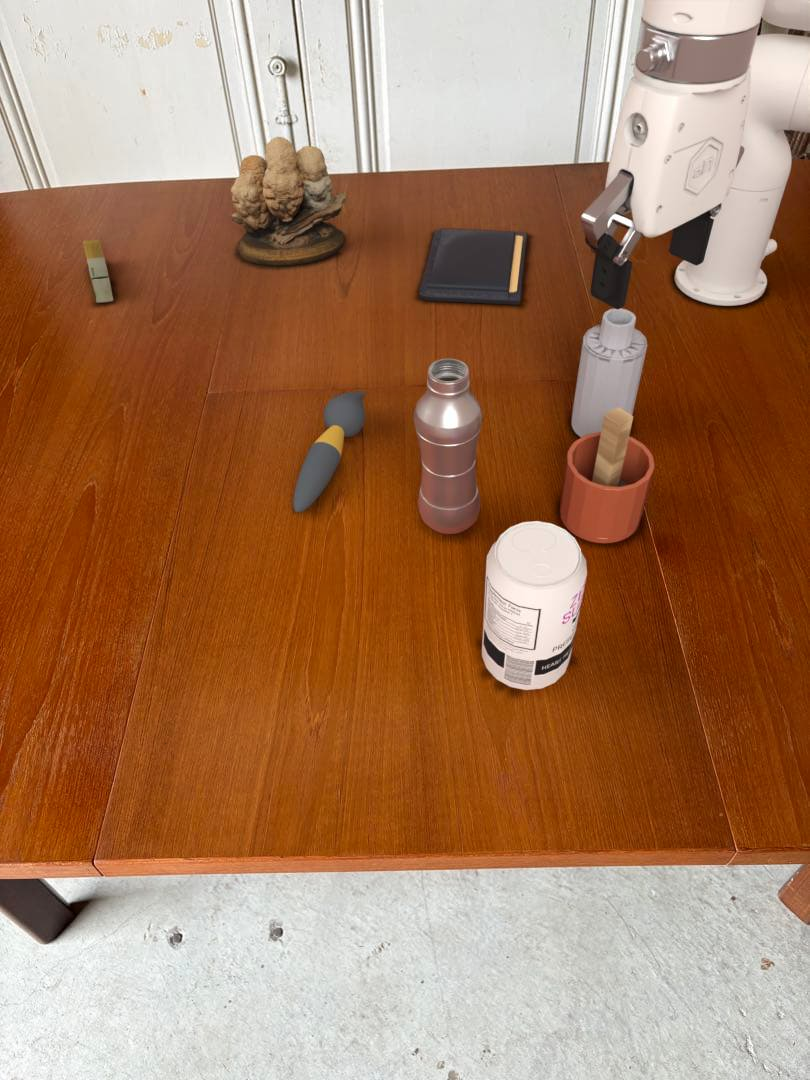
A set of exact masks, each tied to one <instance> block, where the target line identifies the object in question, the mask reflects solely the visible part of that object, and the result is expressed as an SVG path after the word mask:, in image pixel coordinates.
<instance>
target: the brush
mask: <svg viewBox="0 0 810 1080" xmlns="http://www.w3.org/2000/svg"><path fill="white" fill-rule="evenodd" d="M633 420H634V415H633V414H632V415H631V414H629V413H627V412H626V411H624V410H623V409H621V408H619V407H617V408H615V409H613V410H612V411H610V412H609V413H607V414H605V415H604V419H603V425H602V430H601V435H600V441H599V446H598V452H597V457H596V463H595V468H594V473H593V479H592V482H594V483H597V484H600V485H603V486H614V487H622V486H626V485H629V484H627V483H626V482H624V481H623V480H621V479H620V476H621V471H622V467H623V462H624V457H625V453H626V448H627V444H628V439H629V436H630V434H631V430H632V425H633Z"/></svg>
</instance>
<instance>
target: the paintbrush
mask: <svg viewBox="0 0 810 1080" xmlns="http://www.w3.org/2000/svg"><path fill="white" fill-rule="evenodd" d="M366 392H367V391H350V392H349V391H348V392H344V393H340V394H338V395H335V396H334V397H333V398H331V399H330V400H329V401H328V402H327V403H326V405H325V407H324V410H323V422H324V426H325V427H326V430H325V431H323V433H322V434H321V435H320V436H319V437H318V438H317V439H316V440H315V441H314V442H313V443H312V445H311V447H309V450H308V452H307V454H306V456H305V458H304V461H303V463H302V465H301V468H300V471H299V474H298V476H297V481H296V484H295V487H294V492H293V498H292V500H293V501H292V505H293V510H294V511H295V513H298V514H299V513H302V512H304V511H306V510H307V509H309V508H310V507H311V506H312V505H313V504H314V503H315V502H316V501H317V499H319V497H320V495H322V493H323V492H324V490H325V489H326V488H327V486H328V484H329V483H330V482H331V479H332V478H333V476H334V475H335V472H336V471H337V469H338V467H339V464H340V462H341V458H342V454H343V450H344V449H343V448H344V441H345V438H352V437H354V436H356V435H357V434H359V432H361V430H363V428H364V426H365V423H366V410H365V406H364V403H363V399H364V397H365V395H366Z"/></svg>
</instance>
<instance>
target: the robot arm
mask: <svg viewBox="0 0 810 1080" xmlns="http://www.w3.org/2000/svg"><path fill="white" fill-rule="evenodd" d="M642 5H643V6H642V11H641V17H640V24H639V31H638V37H637V43H636V49H635V56H634V61H633V68H632V73H633V76H632V77H631V78H630V80H629V83H628V86H627V90H626V92H625V96H624V100H623V104H622V107H621V110H620V114H619V118H618V122H617V126H616V131H615V135H614V139H613V142H612V147H611V152H610V157H609V162H608V167H607V168H608V169H607V174H606V180H605V187H604V190H603V191H601V193H600V194H599V195H598V196H597V197H596V199H594V201H593V202H592V203H591V204H590V205H589V206H588V207H587V208H586V209H585V210H584V211H583V213H582V214H581V217H580V223H581V227H582V230H583V233H584V236H585V238H584V242H585V243H586V245H587V246H588V247H589V248H590V252H591V253H593V254H594V262H593V268H592V269H593V270H592V277H591V283H590V290H589V292H590V295H591V296H592V297H593V298H594V299H597V300H598V301H600V302H602V303H604V304H606V305H608V306H610V307H612V309H623V308H624V307H625V305H626V302H627V296H628V290H629V286H630V285H629V284H630V280H631V274H632V269H633V261H630V260H629V258H630V256H631V254H632V253H633V251H634V249H635V247H636V246H637V244H638V243H639V241H640V239H641V238H642V236H644V237H646V238H648V239H653V238H656V237H660V236H662V235H664V234H667V233H668V232H670V231H672V230H673V231H672V233H671V234H672V235H671V238H670V243H669V248H668V252H669V254H671V255H673V256H674V257H676V258H678V259H681V260H682V261H681V262H680V263H679V264H678V265H677V267H676V269H675V272H674V283H675V285H676V286H677V288H678V289H679V290H680V291H681V292H682V293H683V294H685V295H686V296H688V297H689V298H691V299H693V300H696V301H698V302H701V303H704V304H708V305H713V306H722V307H733V306H742V305H746V304H749V303H753V302H754V301H756V300H758V299H759V298H760V297H762V296H763V294H764V293H765V291H766V288H767V285H768V278H767V275H766V274H765V272H764V271H763V270H762V269H761V266H762V262H763V261H764V259H765V258H766V257H768V256H769V255H770V254H772V253H774V252H775V251H777V249H778V243H777V242H776V240H775V239H773V238H770V237H771V234H772V231H773V228H774V225H775V221H776V218H777V215H778V211H779V209H780V205H781V203H782V199H783V196H784V193H785V190H786V186H787V183H788V180H789V177H790V174H791V170H792V162H793V161H792V159H793V158H792V157H793V156H792V150H791V146H790V144H789V140H788V138H787V135H786V133H785V131H795V132H800V133H801V132H802V133H808V134H810V36H806V35H796V34H786V33H764V34H759V35H758V33H759V29H760V25H761V20H762V19H763V20H764V21H765V22H766V23H768V24H770V25H772V26H776V27H780V28H785V29H790V30H797V31H805V32H810V0H643V4H642ZM629 213H631V217H632V218H631V217H628V216H626V215H628V214H629ZM619 226H620V227H622V228H624V229H626V230H627V231H626V234H624V237H623V238H622V240H621V241H620V244H619V242H618V241H617V240H616V239H615V238H614V237H613V236H614V235H615V234H616V231H617V229H618V228H619Z"/></svg>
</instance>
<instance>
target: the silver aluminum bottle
mask: <svg viewBox="0 0 810 1080" xmlns="http://www.w3.org/2000/svg"><path fill="white" fill-rule="evenodd" d="M469 377H470V371H469V367H468V365H467V364H466V363H465V362H464V361H462V360H460V359H456V358H441V359H437V360H435V361H434V362H432V363H431V364H430V365H429V367H428V370H427V380H426V389H427V390H425V392H424V394H423V395H422V396H421V397H420V398H419V400H417V402H416V405H415V407H414V410H413V411H414V412H413V422H414V423H413V424H414V428H415V432H416V435H417V436H416V437H417V440H418V445H419V451H420V457H421V480H420V486H419V491H418V499H417V509H418V511H419V512H418V513H419V515H420V517H421V520H422V522H423V523H424V524H425V525H426V526H427V527H428V528H430V529H431V530H433V531H435V532H437V533H440V534H444V535H454V534H460V533H462V532H465V531H466V530H468V529H470V527H472V526H473V525H474V524H475V523H476V521H477V520H478V517H479V514H480V510H481V506H482V505H481V504H482V503H481V496H480V491H479V488H478V483H477V471H476V458H477V449H478V447H477V446H478V442H479V438H480V433H481V429H482V428H481V426H482V422H483V412H482V409H481V406H480V403H479V401H478V400H477V399H476V397H475V395H474V394H473V393H472V392H471V391H470V390H469V389H470V378H469Z"/></svg>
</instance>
